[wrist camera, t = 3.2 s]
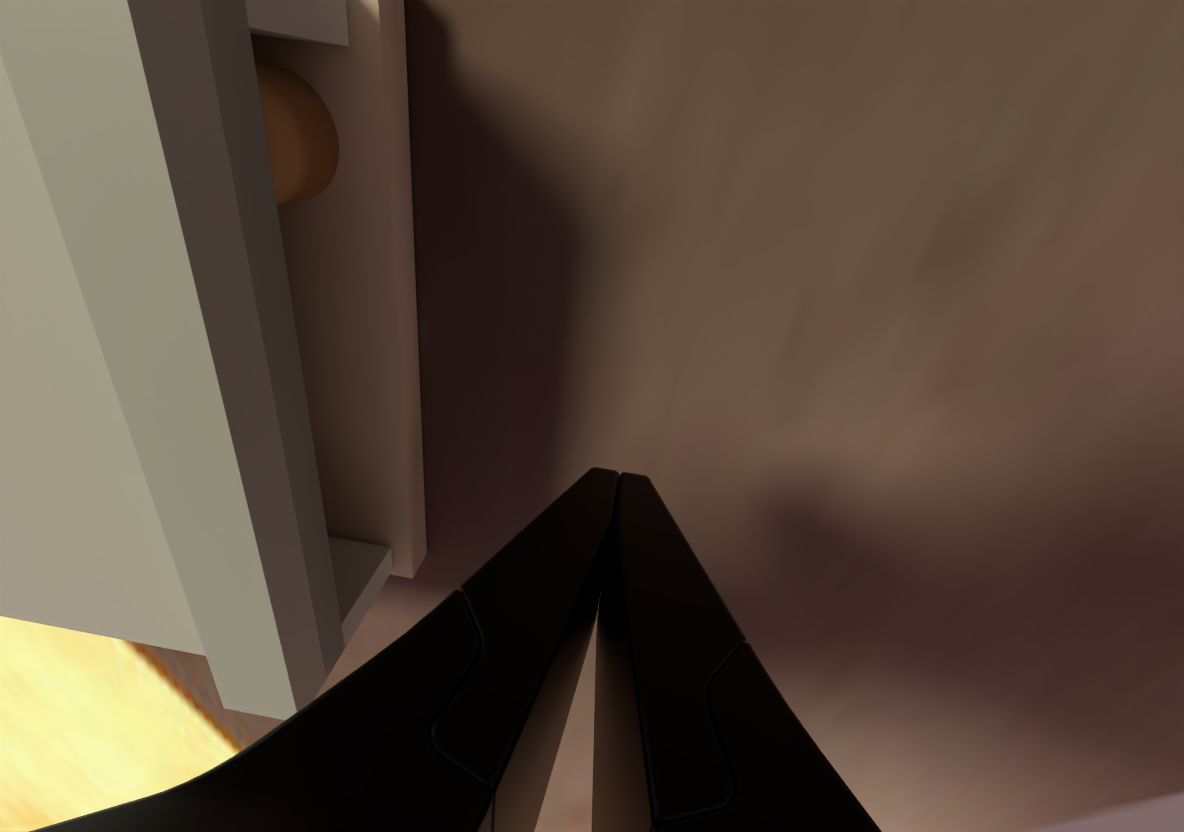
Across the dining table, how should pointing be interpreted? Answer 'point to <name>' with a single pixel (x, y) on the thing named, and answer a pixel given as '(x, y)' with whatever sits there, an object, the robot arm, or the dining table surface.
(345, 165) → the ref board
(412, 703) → the robot arm
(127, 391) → the cover
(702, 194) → the dining table surface
